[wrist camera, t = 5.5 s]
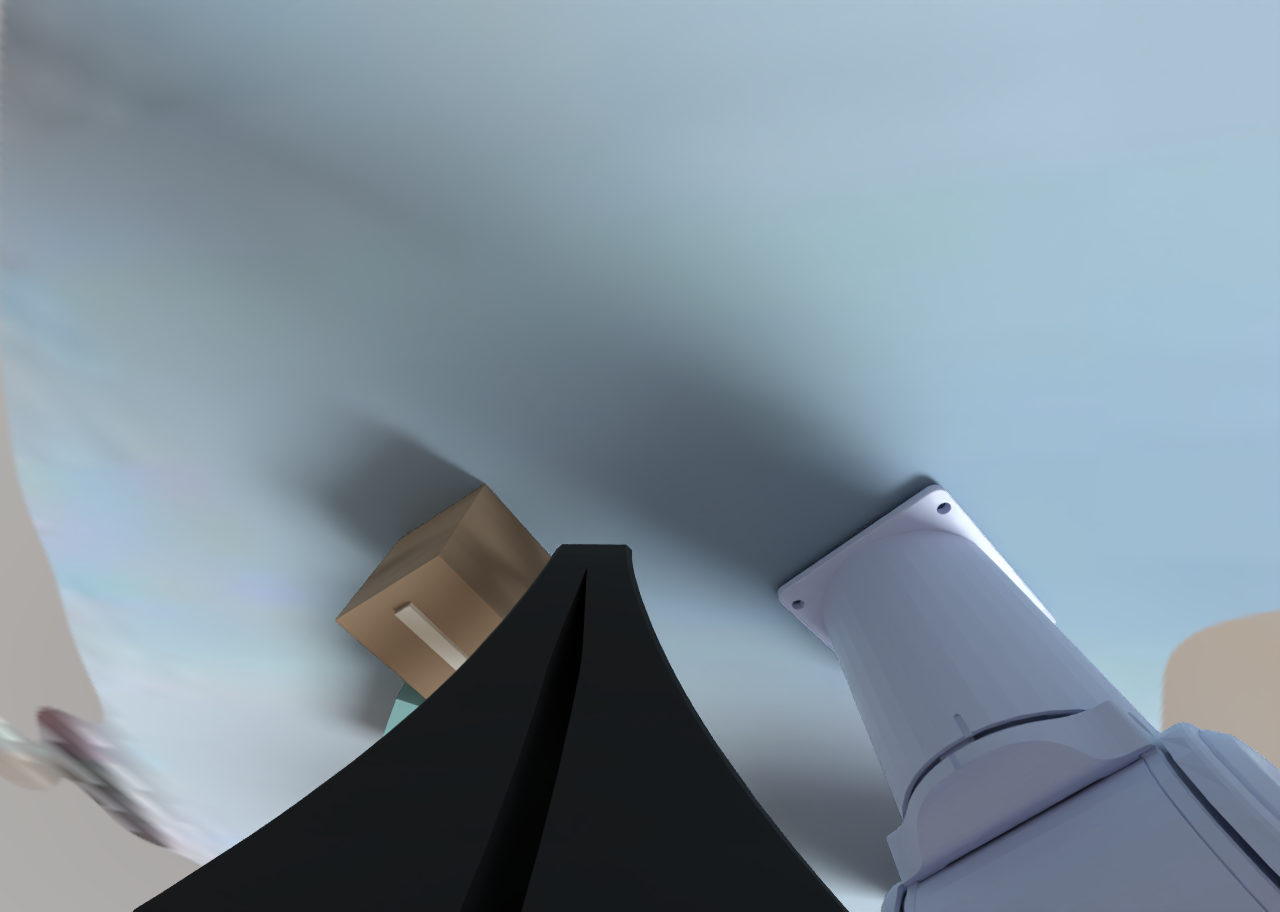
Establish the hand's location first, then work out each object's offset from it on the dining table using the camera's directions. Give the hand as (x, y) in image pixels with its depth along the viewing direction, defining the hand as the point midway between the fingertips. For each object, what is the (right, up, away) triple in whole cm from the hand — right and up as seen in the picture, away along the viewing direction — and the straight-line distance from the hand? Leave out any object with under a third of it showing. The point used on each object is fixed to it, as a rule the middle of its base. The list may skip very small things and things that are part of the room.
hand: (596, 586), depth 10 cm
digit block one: (-6, -2, +13) cm, 14 cm away
